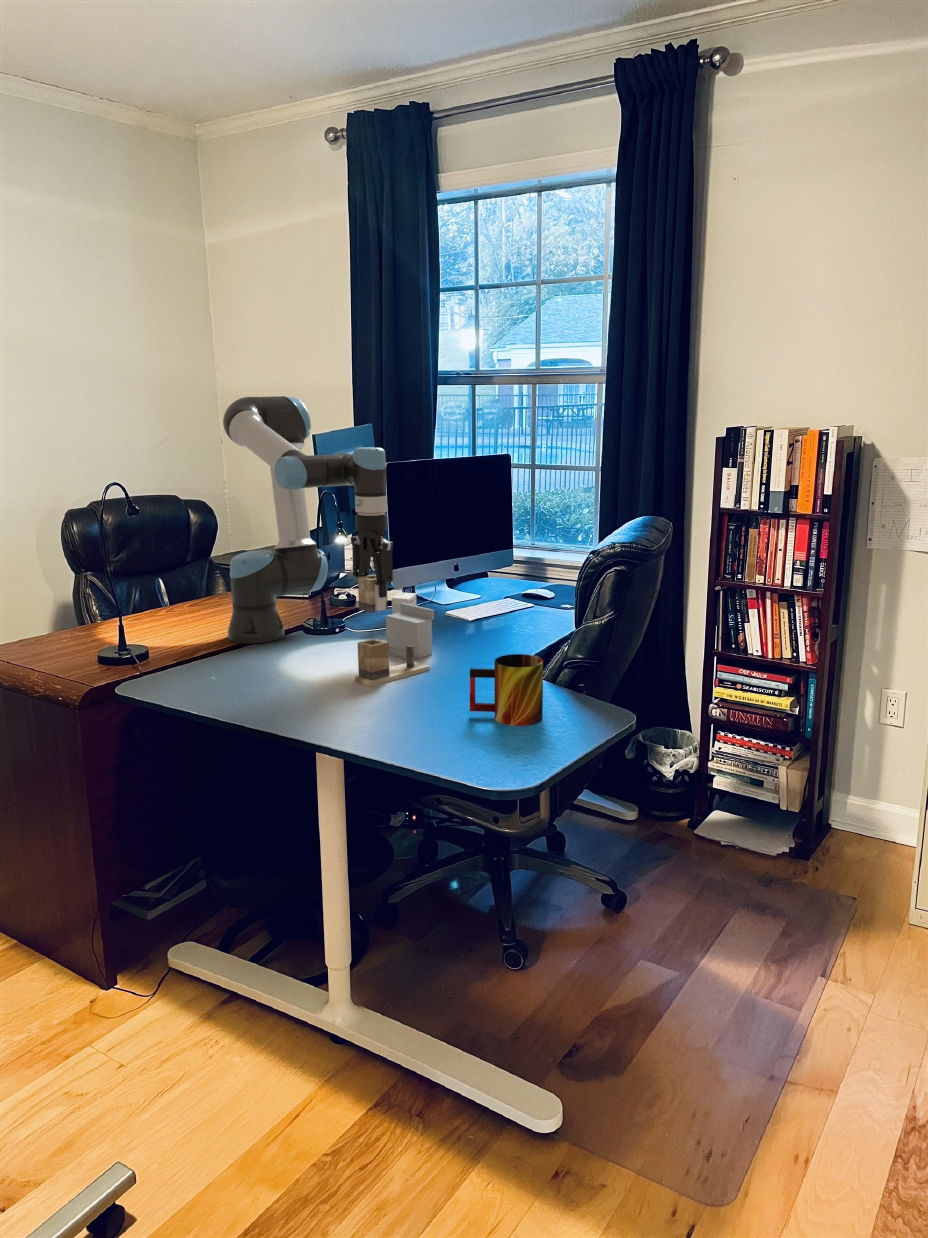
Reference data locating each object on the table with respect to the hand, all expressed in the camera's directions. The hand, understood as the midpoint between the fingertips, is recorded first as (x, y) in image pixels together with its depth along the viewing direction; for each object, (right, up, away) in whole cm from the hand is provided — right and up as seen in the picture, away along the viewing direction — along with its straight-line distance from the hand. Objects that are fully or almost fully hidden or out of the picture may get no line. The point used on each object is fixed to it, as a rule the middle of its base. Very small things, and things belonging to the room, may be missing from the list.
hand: (373, 607), depth 220 cm
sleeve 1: (0, 0, 0) cm, 0 cm away
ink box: (+6, -8, +25) cm, 27 cm away
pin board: (+6, -16, -10) cm, 20 cm away
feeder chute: (+7, -11, +9) cm, 16 cm away
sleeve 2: (+2, -16, -14) cm, 21 cm away
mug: (+31, -23, -40) cm, 56 cm away
